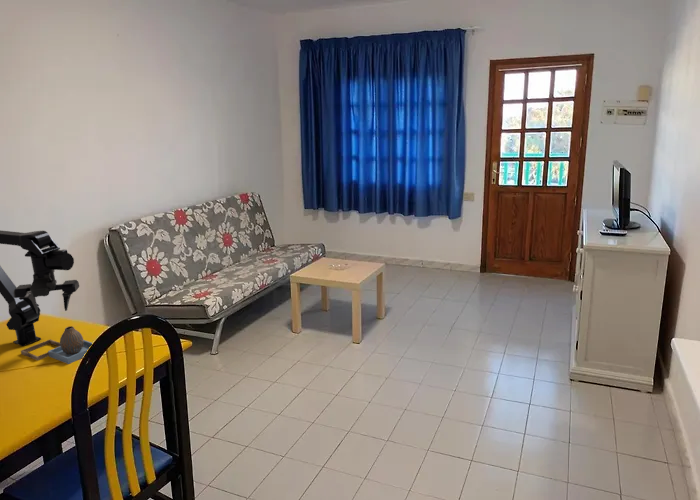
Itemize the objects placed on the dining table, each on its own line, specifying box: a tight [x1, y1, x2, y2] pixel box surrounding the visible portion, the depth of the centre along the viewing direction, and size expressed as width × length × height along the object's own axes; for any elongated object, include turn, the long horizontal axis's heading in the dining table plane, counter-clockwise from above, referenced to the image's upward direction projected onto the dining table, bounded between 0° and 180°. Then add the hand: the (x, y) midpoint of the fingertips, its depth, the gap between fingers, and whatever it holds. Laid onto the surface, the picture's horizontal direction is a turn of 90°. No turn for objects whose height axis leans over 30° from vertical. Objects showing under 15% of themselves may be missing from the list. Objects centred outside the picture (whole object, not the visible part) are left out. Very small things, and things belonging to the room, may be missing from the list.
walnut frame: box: [20, 339, 60, 361], centre depth 176 cm, size 10×10×1 cm
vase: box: [59, 325, 85, 354], centre depth 172 cm, size 7×7×9 cm
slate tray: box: [47, 339, 93, 365], centre depth 174 cm, size 11×11×2 cm
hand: (51, 312), depth 178 cm, fingers open, 9 cm apart
